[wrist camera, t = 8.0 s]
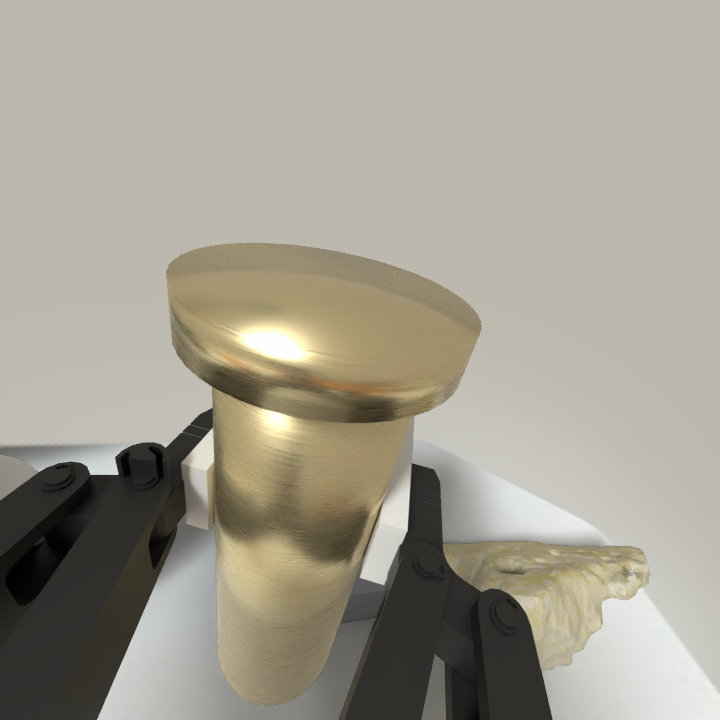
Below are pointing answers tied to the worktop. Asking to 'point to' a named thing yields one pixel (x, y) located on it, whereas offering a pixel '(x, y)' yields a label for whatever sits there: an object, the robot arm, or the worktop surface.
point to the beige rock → (553, 586)
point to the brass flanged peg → (304, 431)
